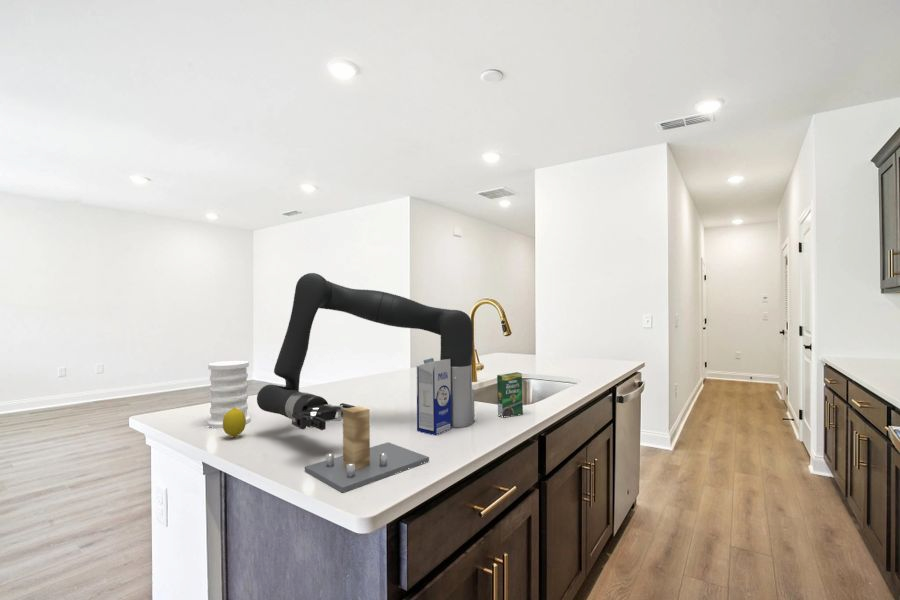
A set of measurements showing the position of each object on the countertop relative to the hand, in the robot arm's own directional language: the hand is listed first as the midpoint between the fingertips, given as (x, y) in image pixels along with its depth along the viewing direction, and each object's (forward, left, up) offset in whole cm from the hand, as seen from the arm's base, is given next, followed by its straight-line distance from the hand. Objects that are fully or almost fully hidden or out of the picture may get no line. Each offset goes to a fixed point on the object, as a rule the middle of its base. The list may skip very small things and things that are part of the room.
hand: (341, 421), depth 97 cm
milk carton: (-31, -3, -9) cm, 33 cm away
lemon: (+10, -37, -9) cm, 40 cm away
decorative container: (+6, -53, -9) cm, 54 cm away
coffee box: (-58, +3, -9) cm, 59 cm away
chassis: (-3, +6, -9) cm, 11 cm away
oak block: (0, +6, -8) cm, 10 cm away
